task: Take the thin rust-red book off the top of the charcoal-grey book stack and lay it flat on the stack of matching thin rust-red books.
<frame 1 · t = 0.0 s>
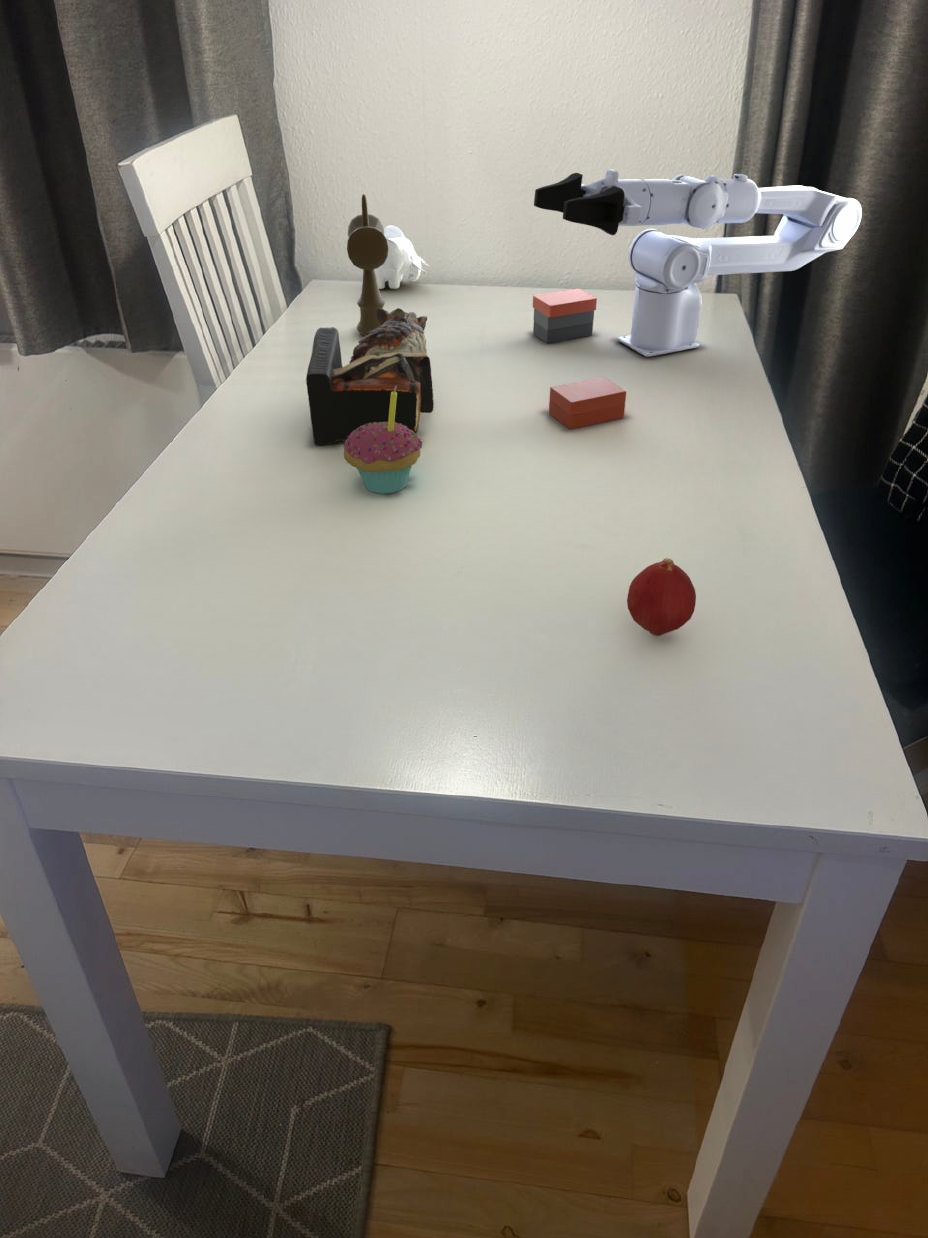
hand: (549, 204, 118), 22 cm above the table, tool horizontal, fingers open, 7 cm apart
bookend: (377, 405, 121), on the table
grey book 1: (562, 334, 141), on the table, touching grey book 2
elephant figurine: (395, 285, 162), on the table
kendama: (373, 333, 143), on the table
rust book: (564, 308, 139), point 4 cm above the table, touching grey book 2
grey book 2: (563, 321, 140), point 2 cm above the table, touching grey book 1, rust book
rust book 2: (587, 402, 116), point 2 cm above the table, touching rust book 1
onion: (655, 634, 81), on the table
cupcake: (384, 485, 103), on the table
rust book 1: (586, 415, 117), on the table, touching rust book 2
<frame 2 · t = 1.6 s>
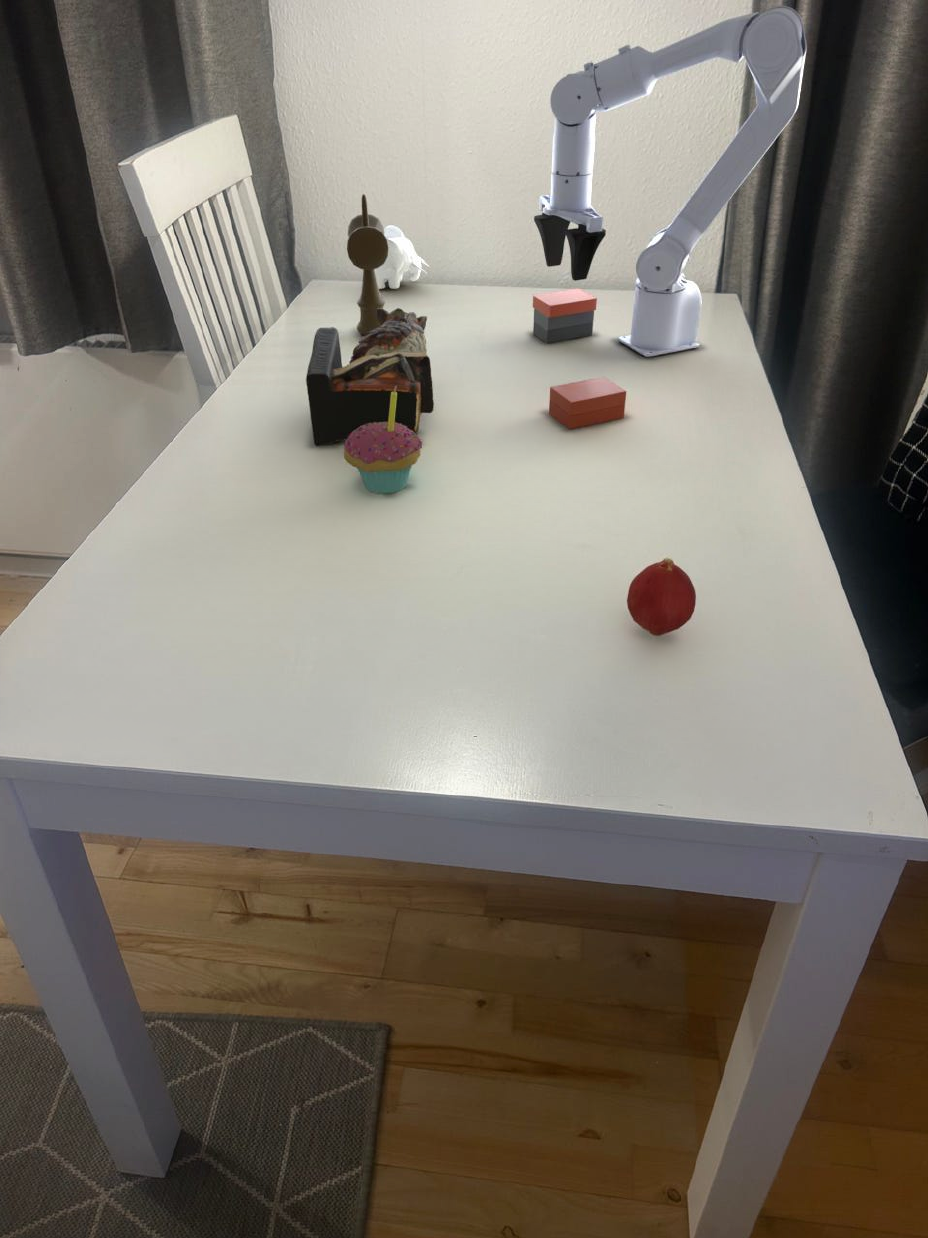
hand: (566, 272, 135), 9 cm above the table, tool pointing down, fingers open, 7 cm apart
nothing on the table moved.
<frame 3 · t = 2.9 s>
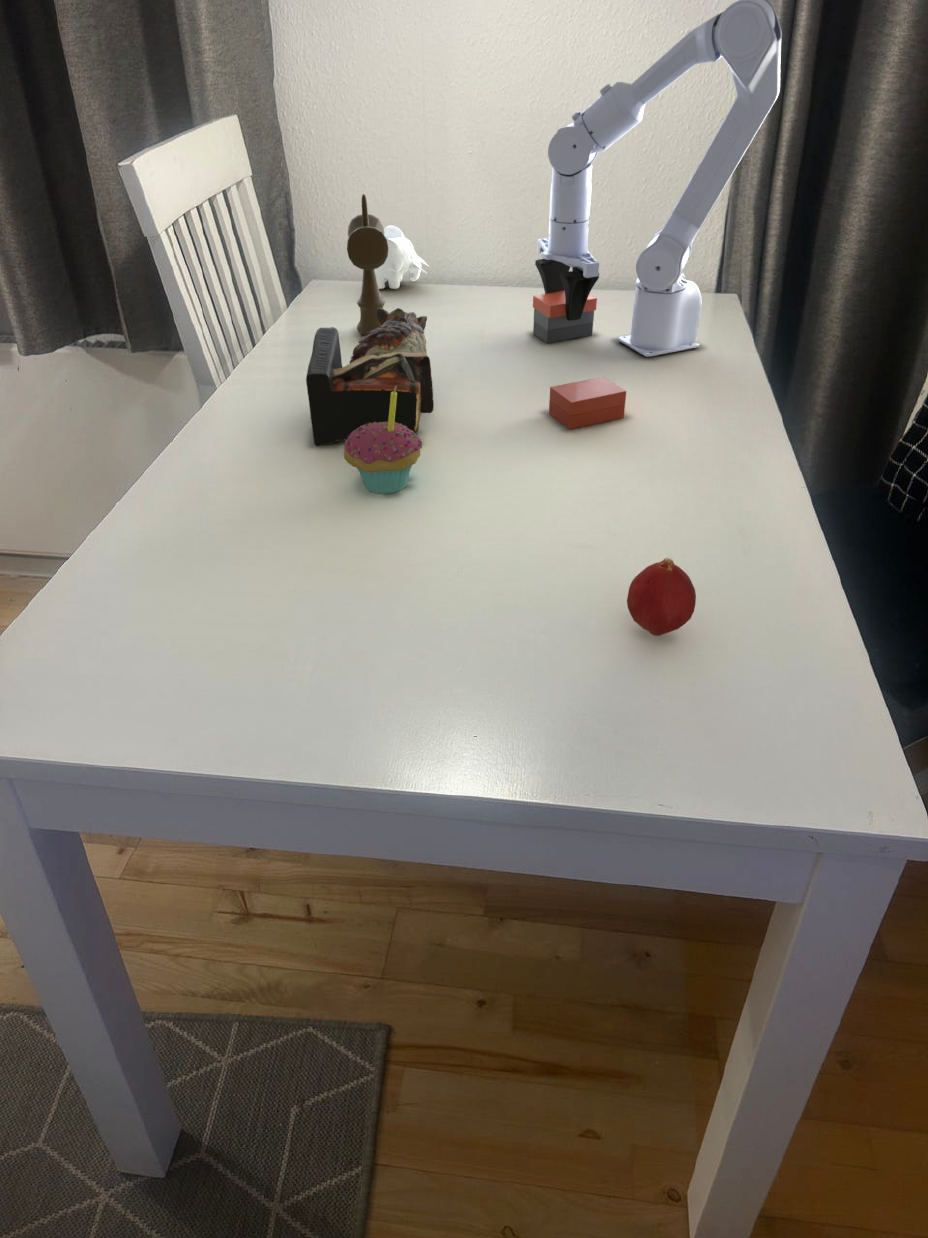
hand: (563, 313, 139), 3 cm above the table, tool pointing down, fingers closed on rust book, 5 cm apart
rust book: (564, 308, 139), point 4 cm above the table, touching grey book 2, gripper
everything else where it was.
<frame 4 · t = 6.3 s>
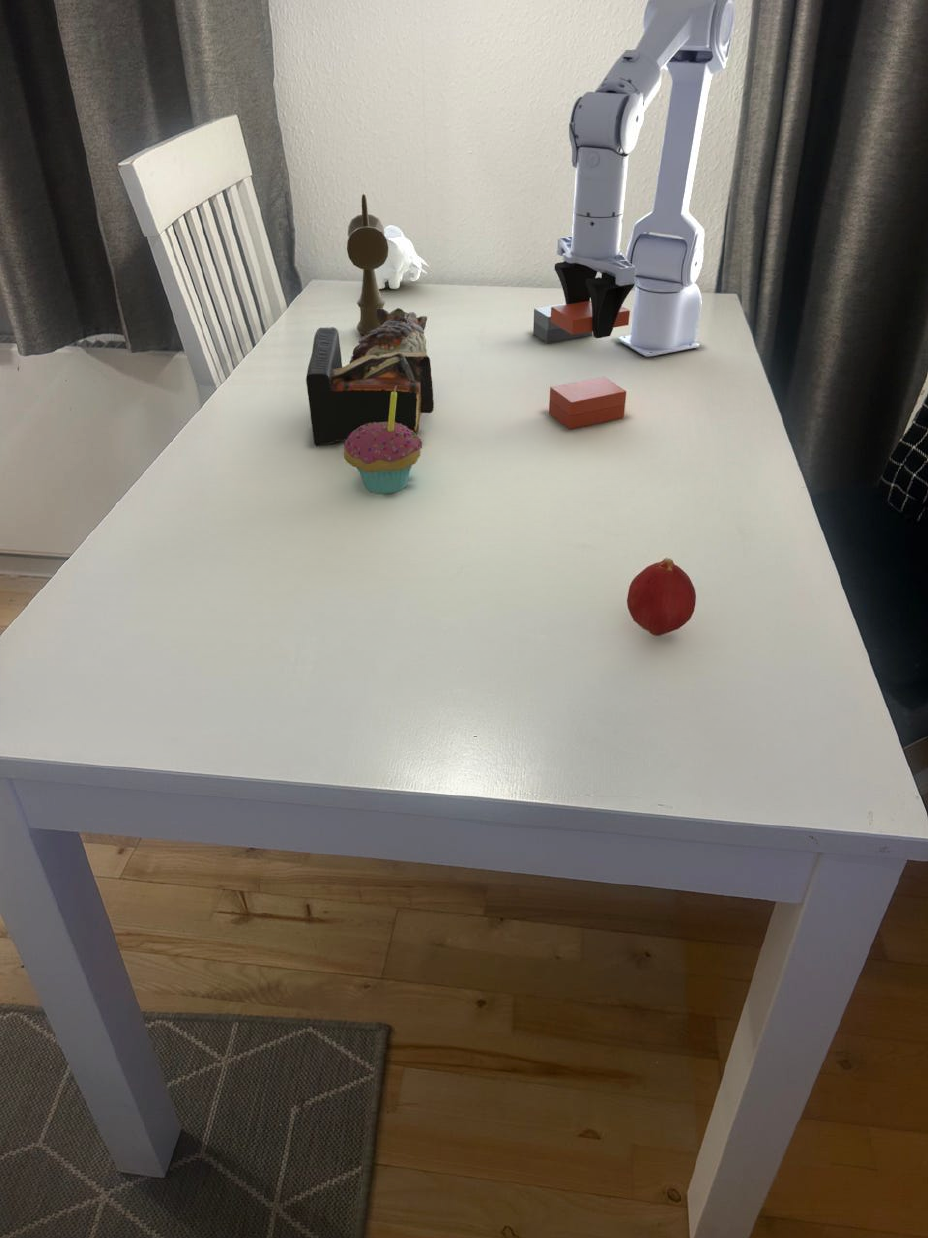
hand: (589, 328, 113), 10 cm above the table, tool pointing down, fingers closed on rust book, 5 cm apart
rust book: (589, 323, 113), point 11 cm above the table, touching gripper
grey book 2: (563, 321, 140), point 2 cm above the table, touching grey book 1
everything else where it was.
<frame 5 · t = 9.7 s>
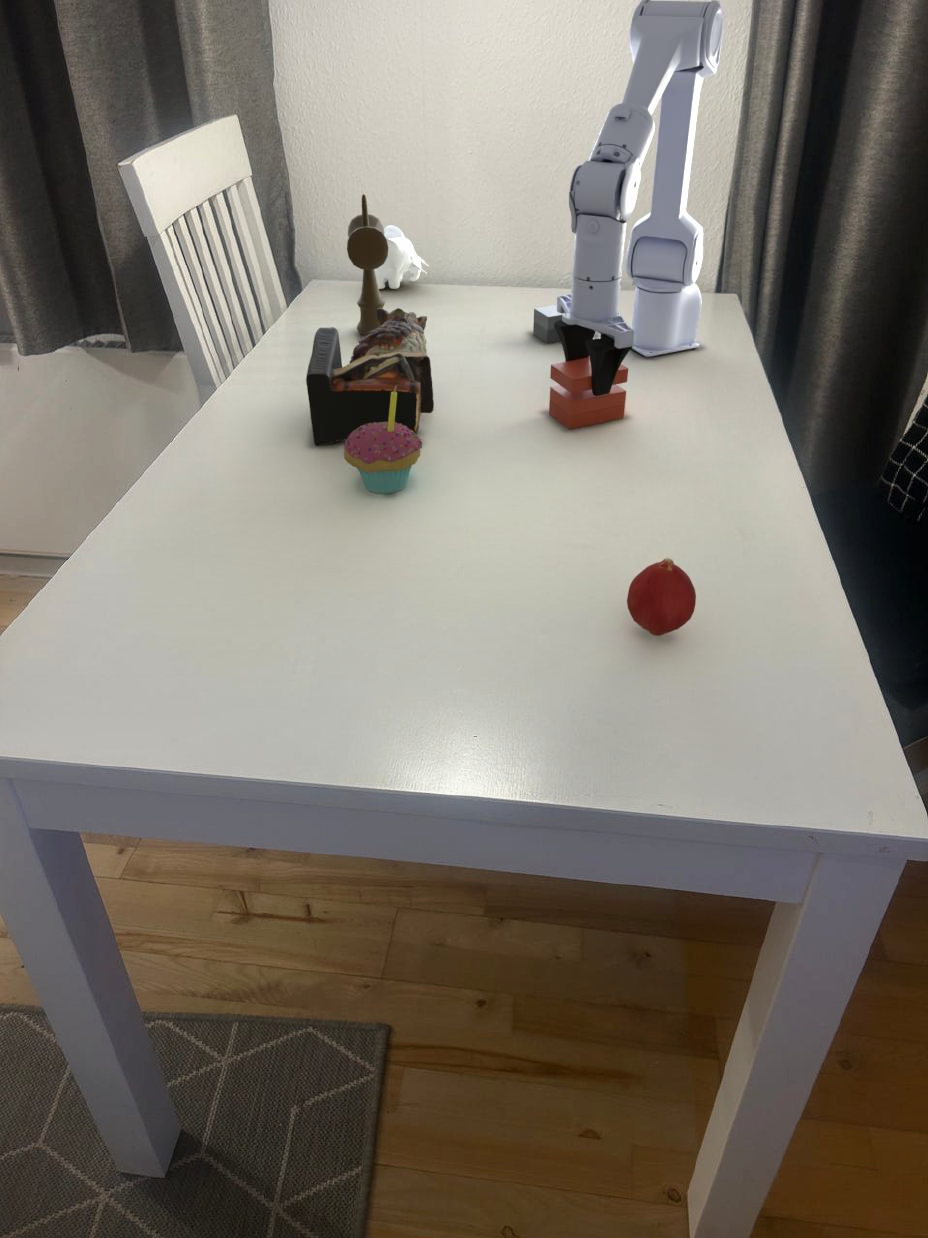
hand: (588, 385, 115), 4 cm above the table, tool pointing down, fingers closed on rust book, 5 cm apart
rust book: (588, 380, 115), point 5 cm above the table, touching gripper
everything else where it was.
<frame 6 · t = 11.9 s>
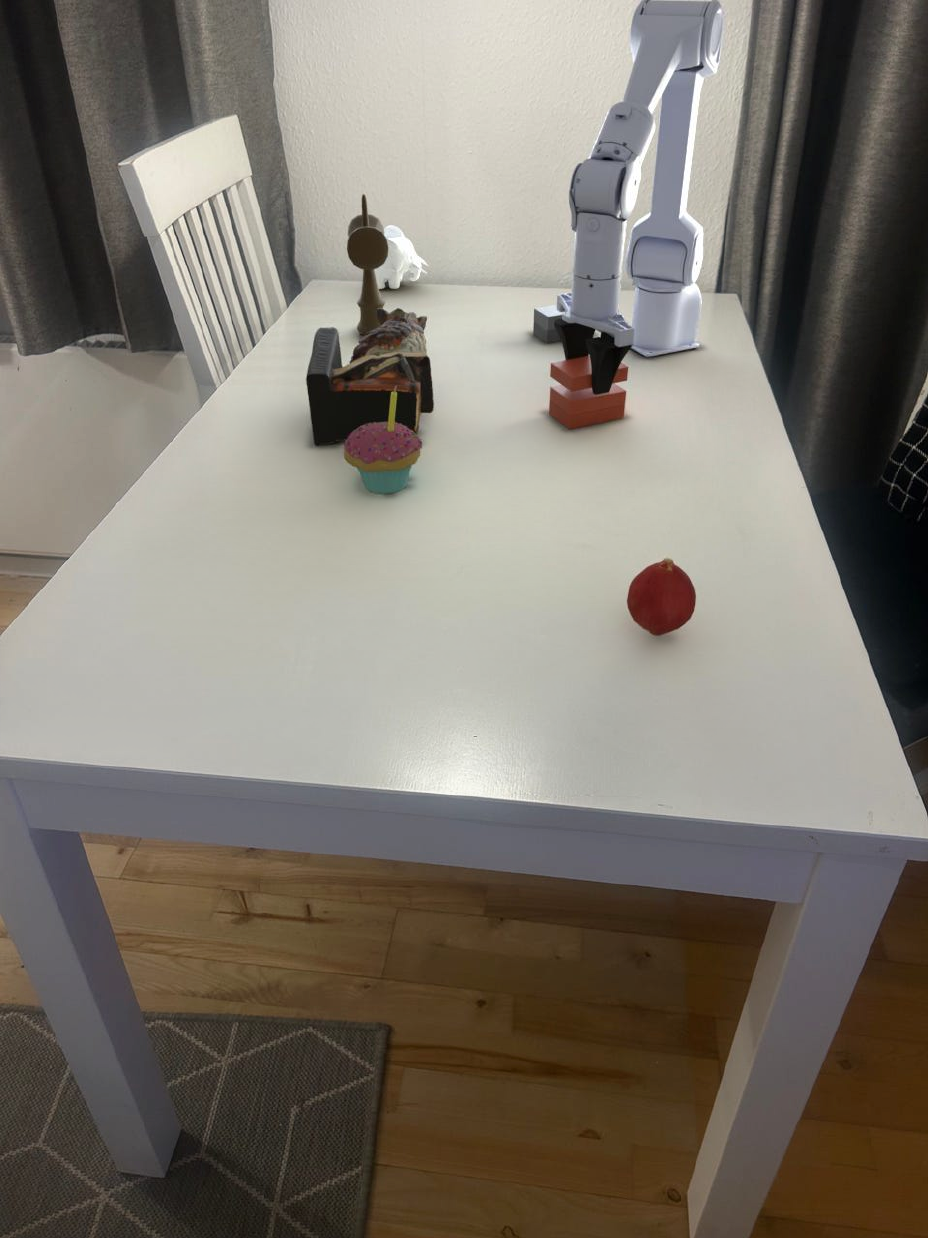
hand: (588, 383, 115), 4 cm above the table, tool pointing down, fingers closed on rust book, 5 cm apart
rust book: (588, 378, 114), point 5 cm above the table, touching gripper
everything else where it was.
when the fingers open (4 cm above the table, at t = 13.8 s): rust book drops 1 cm, resting on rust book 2.
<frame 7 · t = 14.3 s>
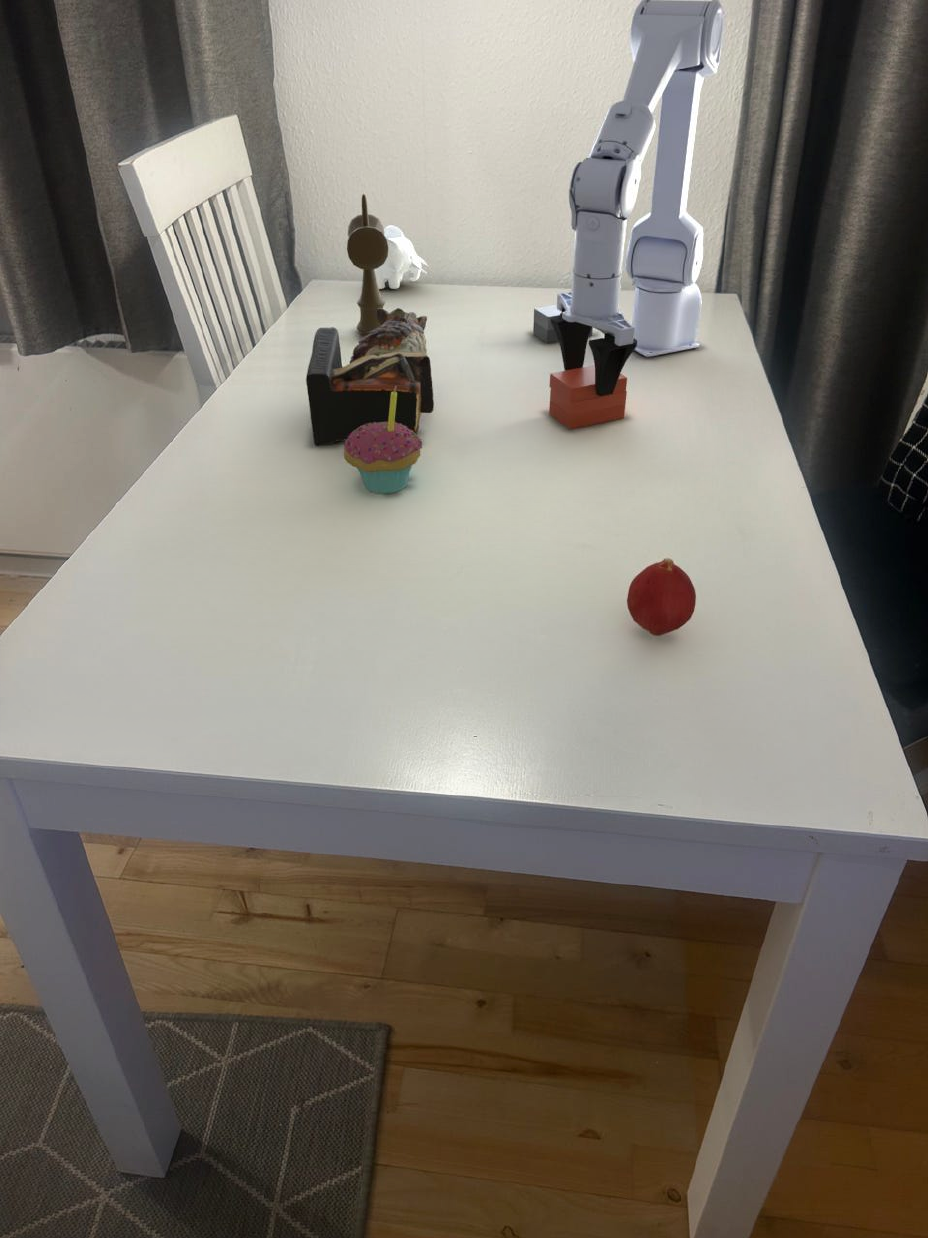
hand: (588, 382, 115), 4 cm above the table, tool pointing down, fingers open, 7 cm apart
rust book: (587, 389, 115), point 4 cm above the table, touching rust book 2
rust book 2: (587, 402, 116), point 2 cm above the table, touching rust book, rust book 1
everything else where it was.
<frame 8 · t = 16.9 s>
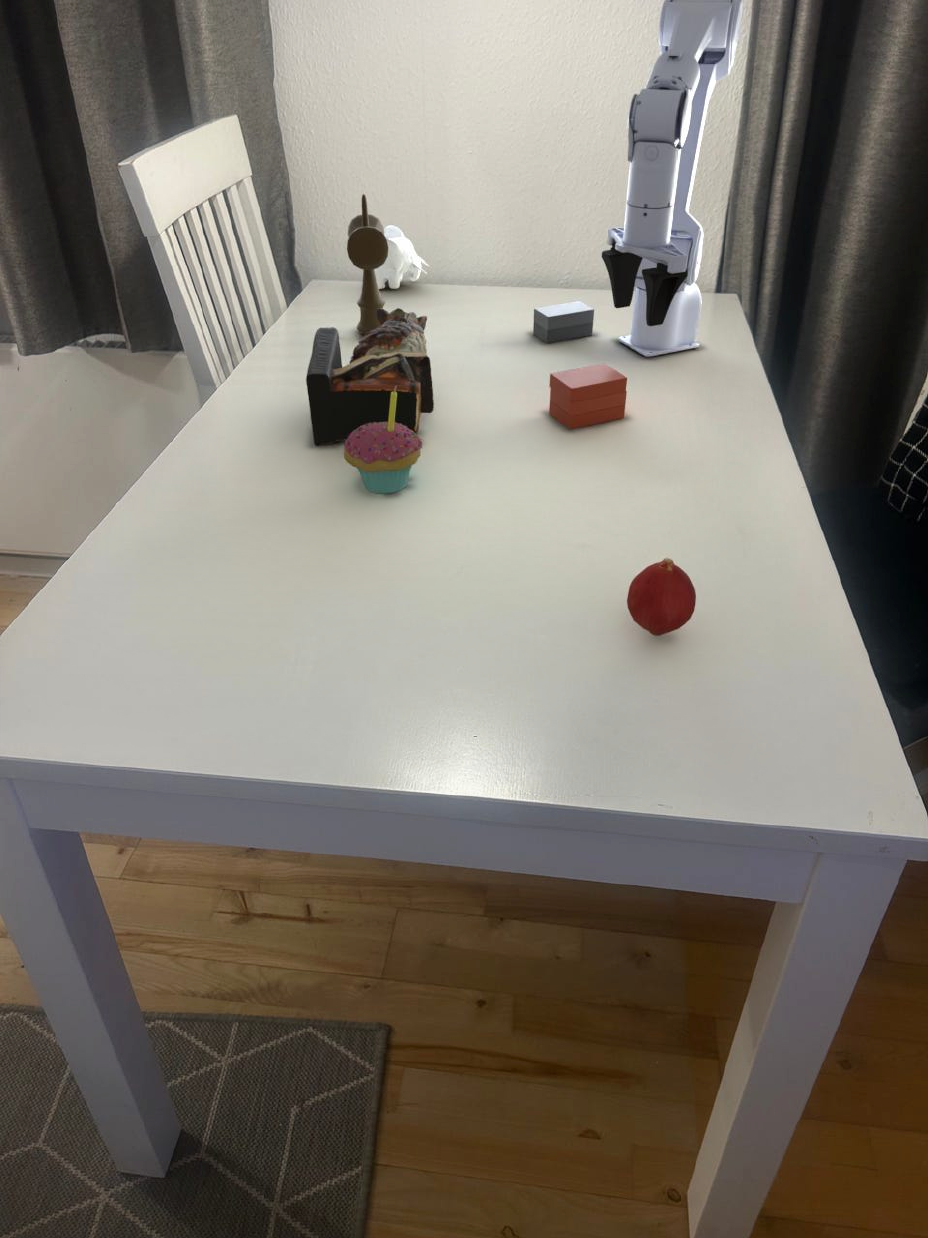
hand: (638, 315, 118), 10 cm above the table, tool pointing down, fingers open, 7 cm apart
nothing on the table moved.
at the end: rust book 0.1 cm off-centre on the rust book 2, point 1.8 cm above the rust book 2's base; rust book tilted 0°; rust book touching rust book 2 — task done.
